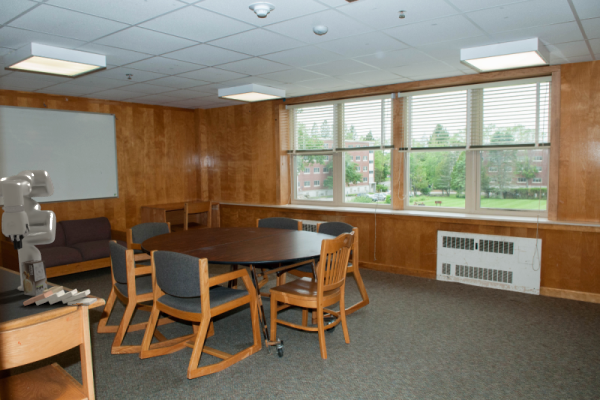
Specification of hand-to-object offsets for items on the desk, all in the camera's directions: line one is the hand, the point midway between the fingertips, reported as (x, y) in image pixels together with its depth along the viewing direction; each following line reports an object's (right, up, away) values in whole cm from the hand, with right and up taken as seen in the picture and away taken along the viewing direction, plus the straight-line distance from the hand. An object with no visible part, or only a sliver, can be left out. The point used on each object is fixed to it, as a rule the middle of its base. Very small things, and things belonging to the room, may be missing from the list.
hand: (18, 248), depth 189 cm
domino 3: (+17, -23, -2) cm, 29 cm away
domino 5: (+26, -24, -2) cm, 35 cm away
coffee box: (-1, -24, +13) cm, 27 cm away
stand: (+12, -24, +7) cm, 28 cm away
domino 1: (+6, -24, -2) cm, 25 cm away
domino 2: (+11, -24, -2) cm, 26 cm away
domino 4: (+22, -23, -2) cm, 32 cm away
